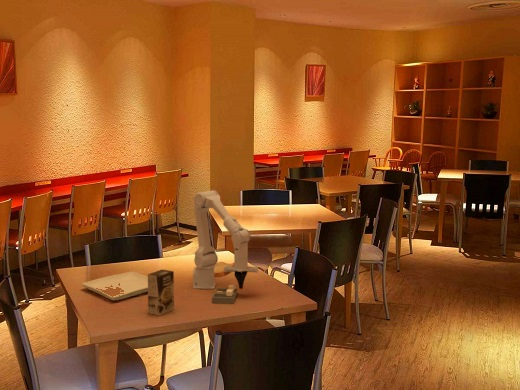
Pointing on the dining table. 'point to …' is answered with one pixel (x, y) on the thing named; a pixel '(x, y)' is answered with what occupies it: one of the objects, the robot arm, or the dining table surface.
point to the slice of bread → (221, 269)
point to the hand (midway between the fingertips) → (241, 288)
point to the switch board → (223, 296)
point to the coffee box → (160, 292)
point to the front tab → (229, 292)
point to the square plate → (128, 283)
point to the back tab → (232, 287)
